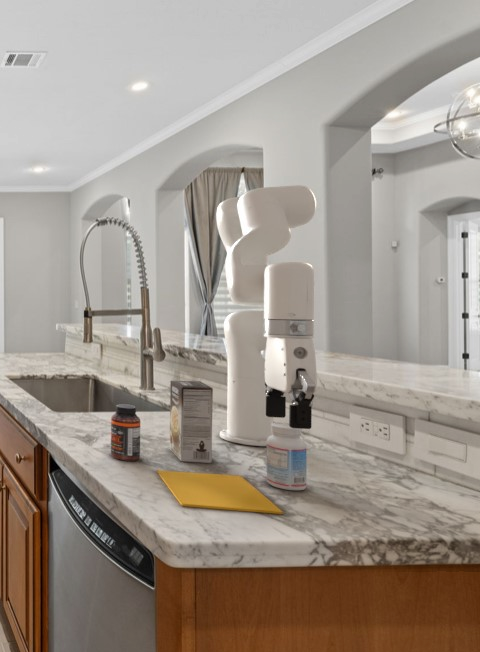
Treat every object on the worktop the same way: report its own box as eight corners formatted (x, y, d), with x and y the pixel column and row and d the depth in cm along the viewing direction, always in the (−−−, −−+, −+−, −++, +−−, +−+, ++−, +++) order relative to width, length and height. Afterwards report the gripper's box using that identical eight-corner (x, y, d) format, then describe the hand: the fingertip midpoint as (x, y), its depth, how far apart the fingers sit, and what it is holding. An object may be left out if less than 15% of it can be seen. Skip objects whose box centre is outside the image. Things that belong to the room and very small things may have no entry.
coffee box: (168, 449, 124) (169, 379, 124) (198, 451, 123) (199, 380, 123) (180, 461, 115) (181, 386, 115) (213, 463, 114) (214, 387, 114)
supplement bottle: (104, 455, 120) (104, 404, 120) (124, 452, 122) (125, 402, 122) (125, 463, 114) (125, 409, 114) (146, 459, 117) (146, 407, 117)
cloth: (156, 472, 109) (156, 470, 109) (240, 477, 105) (240, 475, 105) (181, 506, 91) (181, 503, 91) (283, 514, 88) (283, 511, 88)
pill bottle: (299, 482, 103) (300, 423, 102) (311, 493, 97) (312, 430, 97) (262, 478, 105) (262, 420, 105) (271, 489, 99) (272, 427, 99)
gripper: (337, 332, 91) (336, 434, 91) (289, 328, 108) (288, 414, 108) (286, 331, 93) (285, 431, 93) (246, 327, 109) (246, 412, 109)
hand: (287, 422), depth 100 cm, fingers open, 9 cm apart
